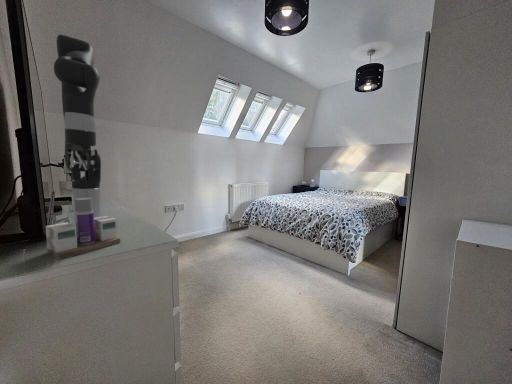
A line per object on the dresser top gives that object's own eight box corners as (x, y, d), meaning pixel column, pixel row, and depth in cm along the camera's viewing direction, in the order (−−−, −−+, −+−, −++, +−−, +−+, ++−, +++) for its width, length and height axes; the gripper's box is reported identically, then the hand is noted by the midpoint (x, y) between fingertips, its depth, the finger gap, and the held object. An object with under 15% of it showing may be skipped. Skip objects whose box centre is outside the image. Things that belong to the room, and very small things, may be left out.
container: (98, 240, 74) (96, 197, 72) (86, 245, 69) (83, 200, 67) (86, 239, 74) (83, 197, 72) (73, 244, 70) (70, 199, 68)
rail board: (47, 252, 67) (45, 225, 66) (106, 237, 82) (105, 215, 80) (60, 259, 62) (58, 231, 61) (120, 242, 77) (119, 219, 76)
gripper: (55, 128, 67) (58, 179, 69) (77, 126, 61) (80, 183, 63) (83, 132, 74) (85, 179, 76) (106, 131, 67) (107, 182, 69)
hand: (82, 181), depth 69 cm, fingers open, 8 cm apart
